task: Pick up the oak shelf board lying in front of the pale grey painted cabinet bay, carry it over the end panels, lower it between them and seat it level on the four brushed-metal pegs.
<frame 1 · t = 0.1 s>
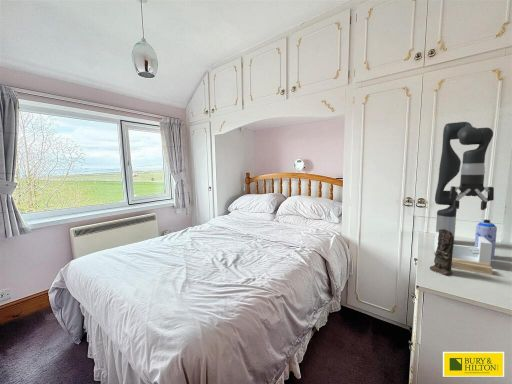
hand: (469, 209, 99), 29 cm above the dresser, fingers open, 8 cm apart
cabinet bay: (459, 259, 113), on the dresser
shelf board: (468, 269, 103), on the dresser
aerosol can: (483, 256, 116), on the dresser
statue: (442, 271, 101), on the dresser
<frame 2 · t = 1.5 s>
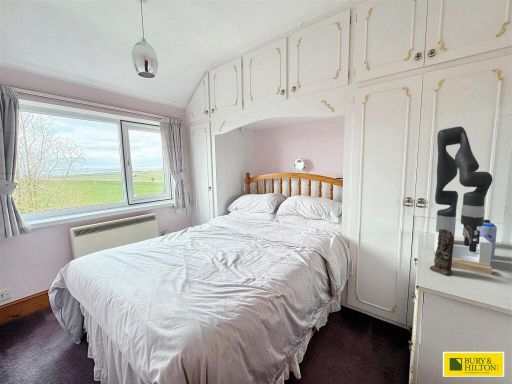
hand: (469, 248, 102), 10 cm above the dresser, fingers open, 8 cm apart
nothing on the dresser moved.
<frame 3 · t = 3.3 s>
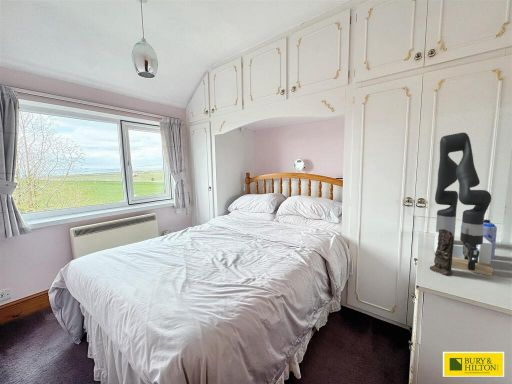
hand: (469, 267, 102), 1 cm above the dresser, fingers closed on shelf board, 6 cm apart
shelf board: (469, 269, 102), on the dresser, touching gripper
everything else where it was.
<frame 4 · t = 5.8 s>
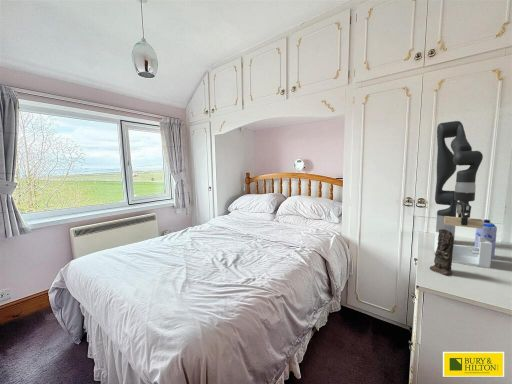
hand: (462, 223, 111), 19 cm above the dresser, fingers closed on shelf board, 5 cm apart
shelf board: (462, 225, 111), point 18 cm above the dresser, touching gripper
everything else where it was.
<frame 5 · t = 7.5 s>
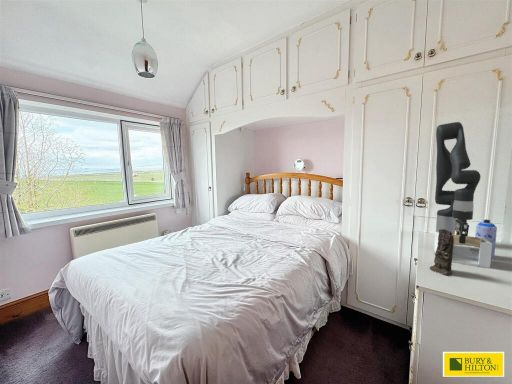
hand: (460, 241, 112), 10 cm above the dresser, fingers closed on shelf board, 5 cm apart
shelf board: (460, 243, 112), point 9 cm above the dresser, touching gripper
everything else where it was.
when the fingers open (8 cm above the dresser, at t = 8.8 s): shelf board drops 1 cm, resting on cabinet bay.
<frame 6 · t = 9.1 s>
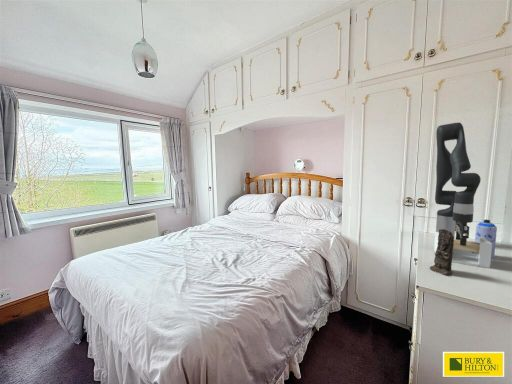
hand: (460, 242, 112), 9 cm above the dresser, fingers open, 8 cm apart
shelf board: (460, 248, 112), point 6 cm above the dresser, touching cabinet bay
everything else where it was.
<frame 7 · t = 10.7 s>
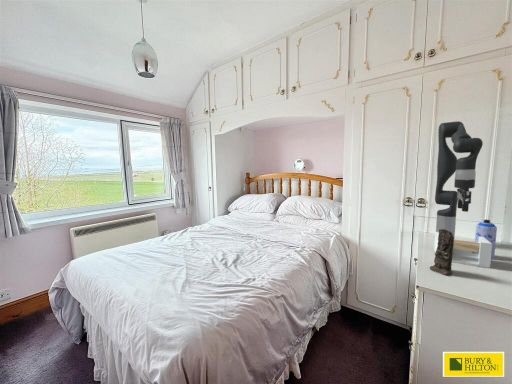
hand: (462, 209, 112), 26 cm above the dresser, fingers open, 8 cm apart
nothing on the dresser moved.
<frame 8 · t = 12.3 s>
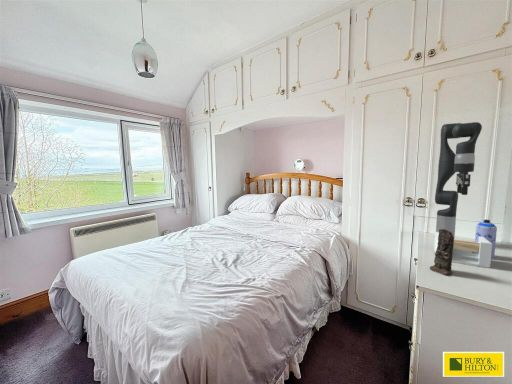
hand: (461, 193, 113), 34 cm above the dresser, fingers open, 8 cm apart
nothing on the dresser moved.
at the end: shelf board 0.1 cm off-centre on the cabinet bay, point 6.2 cm above the cabinet bay's base; shelf board tilted 0°; the gripper is holding nothing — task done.
